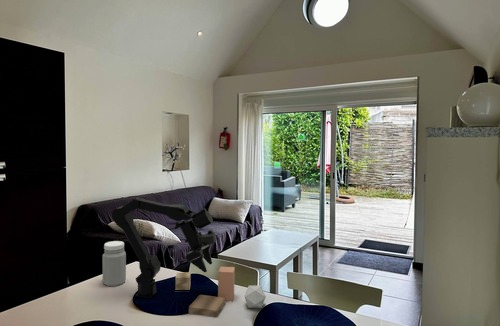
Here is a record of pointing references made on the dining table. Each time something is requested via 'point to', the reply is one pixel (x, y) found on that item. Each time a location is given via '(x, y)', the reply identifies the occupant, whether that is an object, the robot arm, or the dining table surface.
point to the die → (255, 296)
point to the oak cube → (183, 281)
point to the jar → (114, 263)
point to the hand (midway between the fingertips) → (208, 267)
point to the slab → (207, 305)
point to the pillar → (226, 283)
